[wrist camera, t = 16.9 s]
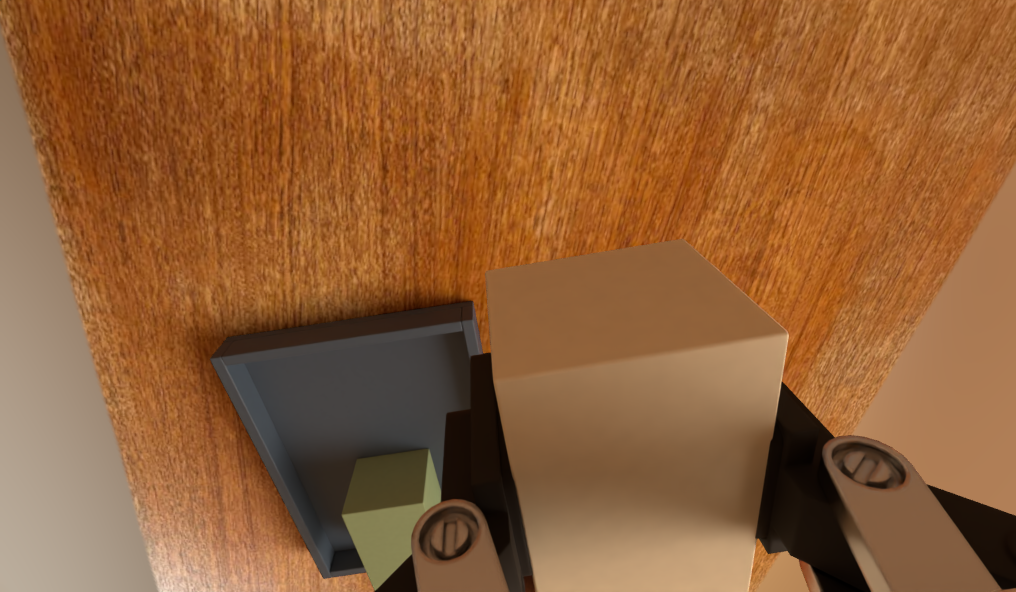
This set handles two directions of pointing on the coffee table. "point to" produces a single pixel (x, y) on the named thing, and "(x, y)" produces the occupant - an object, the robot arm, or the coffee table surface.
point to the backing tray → (347, 406)
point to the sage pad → (388, 508)
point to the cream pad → (635, 417)
